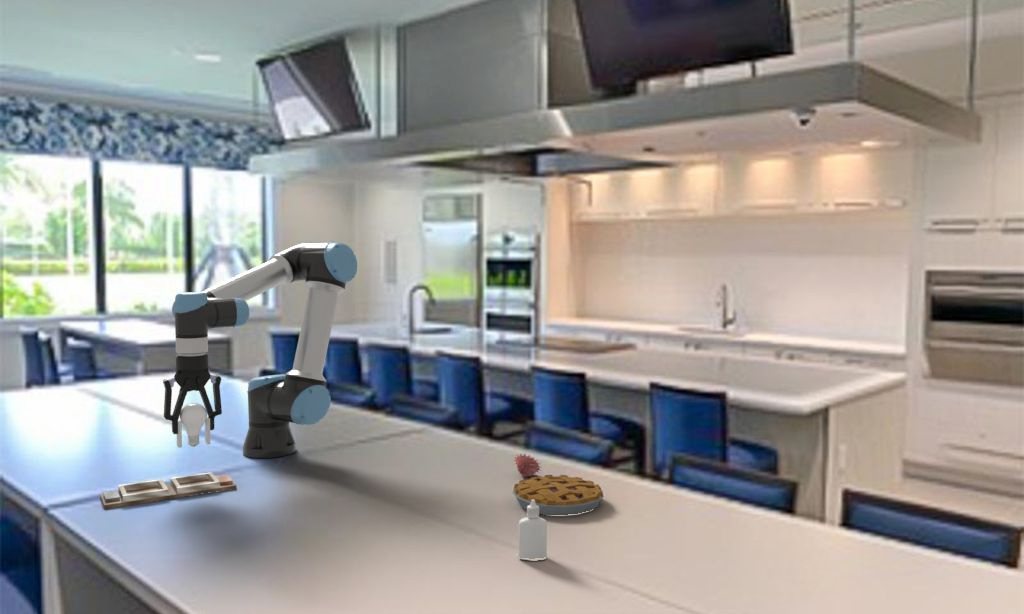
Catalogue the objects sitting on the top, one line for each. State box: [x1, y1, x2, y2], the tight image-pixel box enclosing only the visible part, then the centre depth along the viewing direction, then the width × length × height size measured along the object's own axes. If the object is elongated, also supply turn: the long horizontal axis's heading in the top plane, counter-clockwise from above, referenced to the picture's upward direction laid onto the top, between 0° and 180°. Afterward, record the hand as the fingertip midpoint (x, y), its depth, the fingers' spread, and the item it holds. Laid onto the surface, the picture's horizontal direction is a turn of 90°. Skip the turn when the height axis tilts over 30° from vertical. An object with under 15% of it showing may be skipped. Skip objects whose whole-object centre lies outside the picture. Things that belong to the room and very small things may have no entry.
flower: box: [514, 453, 543, 478], centre depth 214 cm, size 8×8×6 cm
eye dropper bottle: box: [518, 499, 548, 559], centre depth 157 cm, size 4×6×12 cm
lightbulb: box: [179, 402, 208, 448], centre depth 199 cm, size 6×6×11 cm
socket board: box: [100, 471, 237, 510], centre depth 197 cm, size 30×10×2 cm, turn 122°
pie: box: [512, 474, 604, 516], centre depth 191 cm, size 22×22×5 cm
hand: (193, 444), depth 199 cm, fingers closed on lightbulb, 6 cm apart
